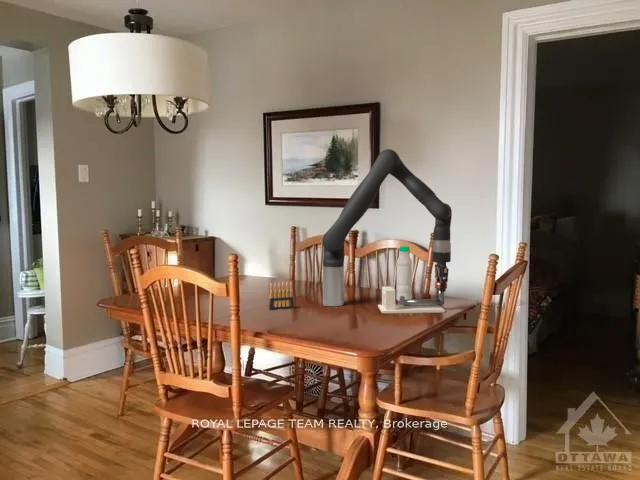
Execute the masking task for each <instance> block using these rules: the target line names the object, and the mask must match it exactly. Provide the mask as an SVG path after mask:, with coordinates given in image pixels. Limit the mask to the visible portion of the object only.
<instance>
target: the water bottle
mask: <svg viewBox="0 0 640 480" xmlns="http://www.w3.org/2000/svg"><path fill="white" fill-rule="evenodd" d="M398 250H399V251H398V252H399V256H398V258H397V260H396V273H395V274H396V285H395V286H396V289H395V291H396V293H395V300H396V301H398V302H400V296H404V297H405V300H413V299H412V298H413V295H412V290H413V286H412V282H413V269H412V265H413V260H412V259H411V256H410V254H409V253H410V250H411V249H410V246H407V245H402V246H399V247H398Z"/></svg>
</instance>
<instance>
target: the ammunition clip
mask: <svg viewBox="0 0 640 480" xmlns="http://www.w3.org/2000/svg"><path fill="white" fill-rule="evenodd" d="M273 283H274V284H273ZM273 283H272V281H271V282H270V283H269V294H268V295H269V298H268V310H269V311H279V310H278V309H282V310H292V308H295V305H294V289H293V281H292V280H290V281H286V282H284V281H282V282H280V281H278V282H276V281H274V282H273Z"/></svg>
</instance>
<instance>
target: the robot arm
mask: <svg viewBox="0 0 640 480" xmlns="http://www.w3.org/2000/svg"><path fill="white" fill-rule="evenodd" d="M388 175H391V176H392V177H394V178H395V179H396V180H398V181H399V183H401V184H402V186H404V187H405V188H406V189H407V191H408V192H409V193H410V194H411V195H412V196H413V197H414V198H415V199H416V200H417V201H419V203H421V205H423V206H424V207H425V209H426V210H427V211H428V212H429V213H430V214H431V215H432V216H433V218H435V219H434V221H435V222H434V224H435V225H434V227H433V240H432V241H433V242H432V262H433V263H436V264H434V278H435V280H436V282H437V281H440V291H441V292H444V293H445V292H446V290H447V288H446V282H447V283H448V282H449V268H448V266H447V263H450V262H451V261H452V260H451V258H452V244H451V224H452V217H453V215H452V214H453V213H452V211H453V210H452V208H451V206H450V204H447V203H446V202H443V201H442V200H441V199H440V198H439V197H438V196H437V194H436V193H435V192H434V191H433V190H432V188H430V186H428V185H427V184H426V183H425V182H424V181H423V180H422V179H420V178H419V177H417V176H416V175H415V174H413V173H412V171H410V169H408V168H407V166H406V165H405V164H404V162H403V161H402V160H401V157H400V156H399V154H398V153H397V152H396V151H395V150H393V149H392V148H391V149H390V148H388V149H384V150H382V151H381V152H379V154H378V155H377V157H376V159H375V161H374V162H373V164H372V165H371V168H370V170H369V171H368V173H367V174H366V176H365V177H364V179H362V181H361V182H360V183H359V185H358V186H357V188H356V189H355V190H354V191H353V193H352V194H351V196H350V197H349V199H348V200H347V202H346V203H345V205H344V207H343V209H342V211H341V212H340V214H339V216H338V218H337V219H336V221H335V222H334V223H333V224H332V226H330V228H329V229H328V230H327V231H326V232H325V233H324V234H323V237H322V239H321V243H322V246H323V258H322V306H324V307H325V306H328V307H338V306H339V307H340V306H343V305H344V304H345V291H344V290H345V285H344V284H345V283H344V282H345V280H344V279H345V275H344V273H345V272H344V271H345V266H344V265H345V240H346V238H347V237H348V236H349V233H350V232H351V230H352V229H353V227H354V226H355V225H356V224H357V223H358V222H359V221H360V220H361V219H362V217H363V216H364V215H365V214H366V212H367V211H368V210H369V209H370V207H371V206H372V204H373V202H374V200H375V199H376V197H377V194H378V192H379V189H380V188H381V186H382V184H383V182H384V181H385V180H386V178H387V177H388Z"/></svg>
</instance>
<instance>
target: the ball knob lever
mask: <svg viewBox="0 0 640 480" xmlns="http://www.w3.org/2000/svg"><path fill="white" fill-rule="evenodd" d="M434 285H435V286H434V288H435V289H437V298H435V299H433V298H431V299H429V298H427V299H412V300H405V297H404V296H400V301H399V304H400V305H403V306H440V307H442V306H443V305H445V292H441V291H440V281H437V280H436V281H435V283H434ZM446 289H448V282H446Z"/></svg>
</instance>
